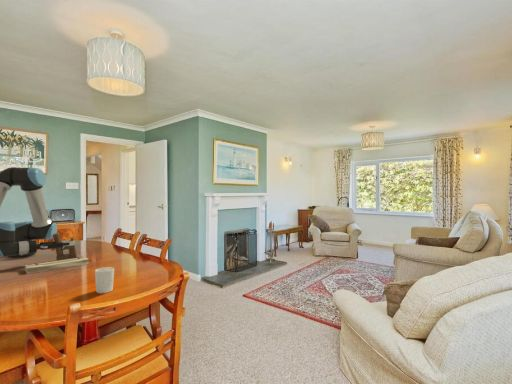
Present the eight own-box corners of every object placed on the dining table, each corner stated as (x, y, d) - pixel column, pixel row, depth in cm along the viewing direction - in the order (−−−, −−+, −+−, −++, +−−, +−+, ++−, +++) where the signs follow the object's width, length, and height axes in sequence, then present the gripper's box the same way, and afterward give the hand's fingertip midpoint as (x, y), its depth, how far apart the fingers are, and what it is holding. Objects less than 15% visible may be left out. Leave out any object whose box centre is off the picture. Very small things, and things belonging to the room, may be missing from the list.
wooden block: (76, 258, 182) (71, 231, 180) (57, 262, 178) (51, 235, 176) (77, 256, 185) (72, 230, 183) (58, 260, 181) (53, 233, 179)
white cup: (99, 288, 133) (99, 267, 133) (116, 287, 134) (117, 266, 134) (91, 294, 125) (91, 271, 125) (109, 293, 126) (109, 271, 126)
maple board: (24, 270, 160) (24, 264, 160) (84, 261, 182) (84, 256, 182) (27, 274, 153) (27, 268, 153) (88, 264, 175) (88, 259, 175)
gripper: (26, 251, 172) (71, 246, 188) (29, 256, 160) (77, 250, 177) (26, 239, 172) (71, 235, 188) (29, 243, 160) (77, 238, 177)
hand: (74, 242), depth 182 cm, fingers closed on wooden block, 3 cm apart
